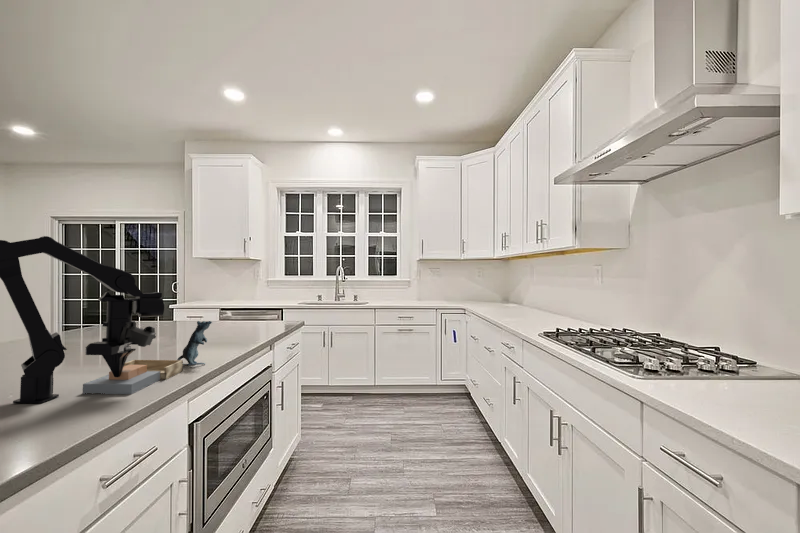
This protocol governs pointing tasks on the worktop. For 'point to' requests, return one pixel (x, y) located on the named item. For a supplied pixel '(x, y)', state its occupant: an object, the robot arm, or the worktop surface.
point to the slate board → (121, 384)
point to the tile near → (125, 374)
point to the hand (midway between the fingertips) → (117, 376)
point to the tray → (161, 366)
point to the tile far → (141, 368)
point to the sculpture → (195, 343)
